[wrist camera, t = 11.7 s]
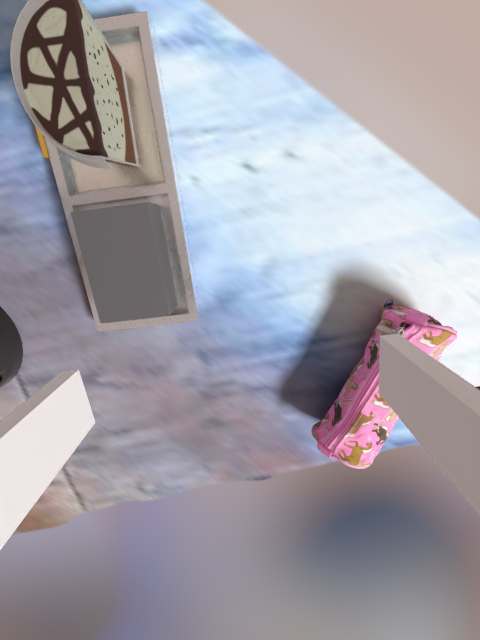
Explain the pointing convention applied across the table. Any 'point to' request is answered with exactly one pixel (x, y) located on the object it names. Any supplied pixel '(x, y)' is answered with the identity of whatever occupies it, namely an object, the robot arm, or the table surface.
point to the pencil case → (374, 390)
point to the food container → (72, 83)
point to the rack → (134, 182)
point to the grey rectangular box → (127, 261)
